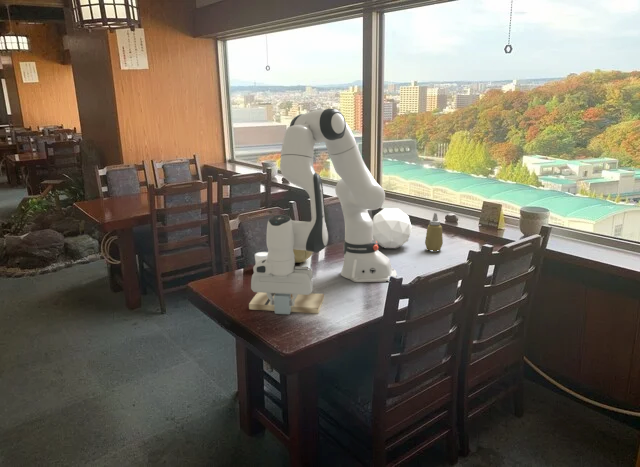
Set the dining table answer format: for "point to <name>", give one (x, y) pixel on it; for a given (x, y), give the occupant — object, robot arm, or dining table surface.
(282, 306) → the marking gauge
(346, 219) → the robot arm
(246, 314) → the dining table surface
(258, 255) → the white cup
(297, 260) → the cantaloupe
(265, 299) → the maple board
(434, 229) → the squeeze bottle
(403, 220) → the ball
